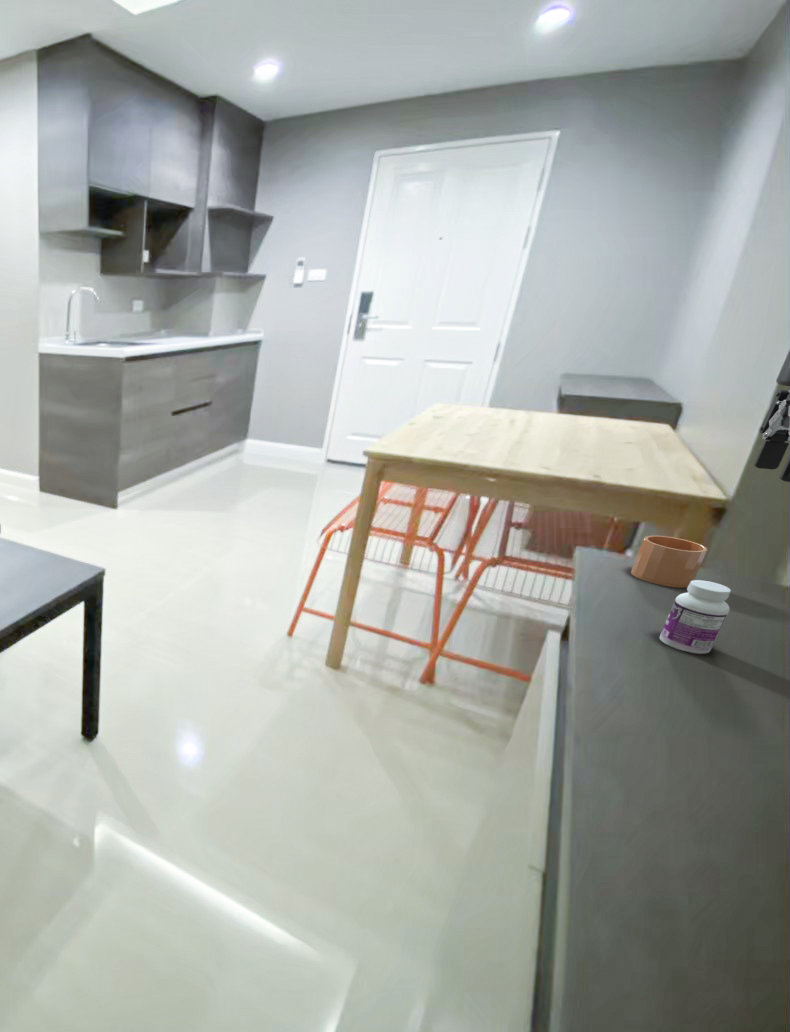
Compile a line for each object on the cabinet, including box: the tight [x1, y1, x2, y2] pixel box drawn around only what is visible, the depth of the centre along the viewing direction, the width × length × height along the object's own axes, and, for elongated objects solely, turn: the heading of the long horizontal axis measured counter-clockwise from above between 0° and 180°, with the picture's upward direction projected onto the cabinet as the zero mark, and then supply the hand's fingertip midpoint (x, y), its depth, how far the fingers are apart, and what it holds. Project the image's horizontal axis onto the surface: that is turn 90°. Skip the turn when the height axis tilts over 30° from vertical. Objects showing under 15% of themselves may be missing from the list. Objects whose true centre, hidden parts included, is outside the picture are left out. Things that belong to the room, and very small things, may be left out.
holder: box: [630, 535, 708, 589], centre depth 108 cm, size 8×8×7 cm
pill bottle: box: [659, 579, 732, 655], centre depth 86 cm, size 5×5×10 cm
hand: (777, 474), depth 81 cm, fingers open, 8 cm apart
